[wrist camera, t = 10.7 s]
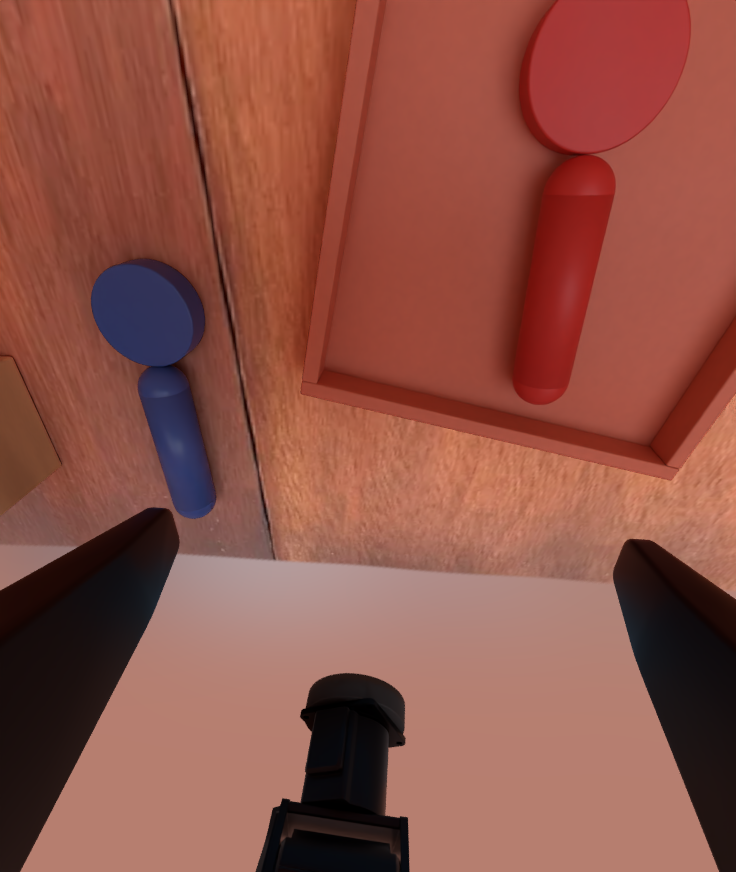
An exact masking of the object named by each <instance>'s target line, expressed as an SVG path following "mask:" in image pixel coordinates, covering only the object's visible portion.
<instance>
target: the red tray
mask: <svg viewBox="0 0 736 872" xmlns="http://www.w3.org/2000/svg"><path fill="white" fill-rule="evenodd" d="M555 1H556V0H357V1H356V7H355V14H354V21H353V28H352V35H351V42H350V49H349V56H348V63H347V70H346V77H345V84H344V91H343V98H342V105H341V112H340V119H339V126H338V133H337V140H336V147H335V154H334V161H333V168H332V175H331V182H330V188H329V195H328V202H327V209H326V216H325V223H324V230H323V237H322V244H321V251H320V258H319V265H318V272H317V279H316V286H315V293H314V300H313V307H312V314H311V321H310V328H309V335H308V342H307V349H306V356H305V363H304V369H303V376H302V384H301V391H300V393H301V394H303V395H307V396H312V397H316V398H320V399H324V400H329V401H333V402H337V403H342V404H346V405H350V406H354V407H359V408H363V409H367V410H371V411H376V412H380V413H384V414H389V415H393V416H397V417H401V418H406V419H410V420H414V421H419V422H423V423H427V424H431V425H436V426H440V427H444V428H448V429H453V430H457V431H461V432H466V433H470V434H474V435H478V436H483V437H487V438H491V439H496V440H500V441H504V442H508V443H513V444H517V445H521V446H525V447H530V448H534V449H538V450H543V451H547V452H551V453H555V454H560V455H564V456H568V457H572V458H577V459H581V460H585V461H590V462H594V463H598V464H602V465H607V466H611V467H615V468H620V469H624V470H628V471H632V472H637V473H641V474H645V475H649V476H654V477H658V478H662V479H667V480H672V479H673V478H674V476H675V475H676V474H677V472H678V471H679V469H678V468H681V467H682V466H683V464H684V463H685V461H686V460H687V459H688V457H689V456H690V455H691V453H692V452H693V451H694V449H695V448H696V447H697V445H698V444H699V442H700V441H701V440H702V438H703V437H704V436H705V434H706V433H707V432H708V430H709V429H710V428H711V426H712V425H713V423H714V422H715V421H716V419H717V418H718V417H719V415H720V414H721V413H722V411H723V410H724V409H725V407H726V406H727V404H728V403H729V402H730V400H731V399H732V398H733V396H734V395H735V394H736V0H687V2H688V6H689V10H690V18H691V37H690V46H689V51H688V55H687V60H686V63H685V66H684V69H683V72H682V75H681V77H680V79H679V82H678V84H677V86H676V88H675V90H674V92H673V94H672V95H671V97H670V99H669V100H668V102H667V103H666V105H665V106H664V108H663V109H662V110H661V112H660V113H659V114H658V115H657V116H656V118H655V119H654V120H653V121H652V122H651V123H650V124H649V125H648V126H647V127H646V128H645V129H644V130H643V131H641V132H640V133H639V134H638V135H637V136H635V137H634V138H632V139H631V140H629V141H628V142H626V143H624V144H622V145H620V146H618V147H616V148H614V149H611V150H608V151H605V152H601V153H596V154H588V155H594V156H598V157H600V158H602V159H603V160H605V161H606V162H607V163H608V164H609V165H610V166H611V168H612V170H613V172H614V175H615V179H616V189H615V195H614V200H613V204H612V208H611V212H610V216H609V220H608V224H607V228H606V233H605V237H604V241H603V245H602V249H601V253H600V257H599V262H598V266H597V270H596V274H595V278H594V282H593V286H592V291H591V295H590V299H589V303H588V307H587V311H586V315H585V320H584V324H583V328H582V332H581V336H580V340H579V344H578V348H577V353H576V357H575V361H574V365H573V369H572V373H571V377H570V382H569V385H568V388H567V389H566V391H565V392H564V394H563V395H562V396H561V397H560V398H559V399H557V400H556V401H554V402H552V403H549V404H545V405H534V404H530V403H528V402H526V401H524V400H523V399H521V398H520V397H519V396H518V394H517V393H516V392H515V390H514V387H513V382H512V375H513V369H514V363H515V357H516V351H517V345H518V339H519V333H520V327H521V321H522V315H523V309H524V303H525V297H526V291H527V285H528V279H529V273H530V267H531V261H532V255H533V249H534V243H535V237H536V231H537V225H538V219H539V213H540V207H541V201H542V195H543V191H544V187H545V185H546V183H547V180H548V179H549V177H550V176H551V174H552V173H553V172H554V170H555V169H556V168H557V167H558V166H560V165H561V164H562V163H563V162H565V161H567V160H568V159H570V158H573V157H575V156H572V155H564V154H559V153H557V152H554V151H552V150H550V149H548V148H547V147H545V146H543V145H542V144H541V143H540V142H539V141H538V140H537V139H536V138H535V137H534V136H533V134H532V133H531V131H530V130H529V128H528V126H527V124H526V122H525V119H524V117H523V113H522V110H521V105H520V98H519V80H520V71H521V66H522V61H523V58H524V54H525V51H526V48H527V46H528V43H529V41H530V38H531V36H532V34H533V32H534V30H535V28H536V27H537V25H538V24H539V22H540V20H541V19H542V17H543V16H544V15H545V13H546V12H547V11H548V10H549V8H550V7H551V6H552V5H553V3H554V2H555Z"/></svg>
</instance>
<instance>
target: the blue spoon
mask: <svg viewBox="0 0 736 872" xmlns="http://www.w3.org/2000/svg"><path fill="white" fill-rule="evenodd" d="M91 306H92V312H93V316H94V319H95V321H96V324H97V326H98V328H99V330H100V332H101V333H102V335H103V336H104V337H105V339H106V340H107V341H108V342H109V343H110V345H111V346H112V347H113V348H115V349H116V350H117V351H118V352H119V353H121V354H122V355H123V356H125V357H127V358H128V359H130V360H132V361H134V362H137V363H139V364H142V365H147V366H151V367H149V368H147V369H146V370H145V371H144V372H143V373H142V374H141V376H140V378H139V381H138V393H139V396H140V399H141V402H142V405H143V409H144V412H145V415H146V418H147V421H148V425H149V428H150V431H151V434H152V437H153V441H154V444H155V447H156V450H157V453H158V456H159V460H160V463H161V466H162V469H163V472H164V476H165V479H166V482H167V485H168V488H169V492H170V495H171V498H172V501H173V504H174V507H175V509H176V510H177V512H178V513H179V514H181V515H182V516H184V517H187V518H191V519H196V518H201V517H203V516H205V515H207V514H208V513H209V512H210V511H211V510H212V509H213V507H214V505H215V502H216V492H215V488H214V484H213V480H212V476H211V472H210V467H209V463H208V459H207V455H206V451H205V447H204V443H203V439H202V435H201V431H200V427H199V422H198V418H197V414H196V410H195V406H194V402H193V398H192V394H191V390H190V386H189V382H188V379H187V378H186V376H185V375H184V373H183V372H182V371H181V370H179V369H178V368H176V367H174V366H172V365H171V364H174V363H175V362H177V361H179V360H180V359H182V358H183V357H184V356H185V355H187V354H188V353H189V352H190V351H192V350H193V349H194V348H195V347H196V346H197V345H198V343H199V342H200V340H201V338H202V336H203V332H204V327H205V316H204V310H203V306H202V303H201V301H200V298H199V296H198V294H197V292H196V291H195V289H194V288H193V286H192V285H191V284H190V283H189V281H188V280H187V279H186V278H185V277H184V276H183V275H182V274H180V273H179V272H178V271H176V270H175V269H173V268H172V267H170V266H168V265H166V264H164V263H162V262H159V261H156V260H151V259H135V260H131V261H128V262H124V263H121V264H118V265H114V266H112V267H110V268H108V269H106V270H105V271H104V272H103V273H102V274H101V275H100V276H99V277H98V278H97V280H96V282H95V284H94V286H93V290H92V295H91Z"/></svg>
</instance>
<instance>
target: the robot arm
mask: <svg viewBox="0 0 736 872" xmlns="http://www.w3.org/2000/svg"><path fill="white" fill-rule="evenodd" d="M179 543H180V541H179V535H178V532H177V528H176V525H175V521H174V518H173V514H172V512H171V511H170V510H169V509H166V508H147V509H145V510H144V511H142V512H140V513H138V514H136V515H135V516H133V517H131V518H129V519H127V520H126V521H124V522H122V523H120V524H119V525H117V526H115V527H113V528H111V529H110V530H108V531H106V532H104V533H102V534H101V535H99V536H97V537H95V538H94V539H92V540H90V541H88V542H86V543H85V544H83V545H81V546H79V547H77V548H76V549H74V550H72V551H70V552H69V553H67V554H65V555H63V556H62V557H60V558H58V559H56V560H54V561H53V562H51V563H49V564H47V565H45V566H44V567H42V568H40V569H38V570H36V571H35V572H33V573H31V574H29V575H27V576H26V577H24V578H22V579H20V580H19V581H17V582H15V583H13V584H11V585H10V586H8V587H6V588H4V589H2V590H1V591H0V872H20V871H21V869H22V867H23V865H24V863H25V861H26V859H27V857H28V855H29V854H30V852H31V850H32V848H33V846H34V844H35V842H36V840H37V838H38V836H39V834H40V832H41V830H42V828H43V826H44V824H45V823H46V821H47V819H48V817H49V815H50V813H51V811H52V809H53V807H54V805H55V803H56V801H57V799H58V798H59V795H60V794H61V792H62V790H63V788H64V786H65V784H66V782H67V780H68V778H69V776H70V774H71V772H72V770H73V769H74V767H75V765H76V763H77V761H78V759H79V757H80V755H81V753H82V751H83V749H84V747H85V745H86V743H87V741H88V739H89V738H90V736H91V734H92V732H93V730H94V728H95V726H96V724H97V722H98V720H99V718H100V716H101V714H102V712H103V711H104V709H105V707H106V705H107V703H108V701H109V699H110V697H111V695H112V693H113V691H114V689H115V687H116V685H117V683H118V681H119V679H120V678H121V676H122V674H123V672H124V670H125V668H126V666H127V664H128V662H129V660H130V658H131V656H132V654H133V653H134V651H135V649H136V647H137V644H138V643H139V641H140V639H141V637H142V635H143V633H144V631H145V629H146V627H147V625H148V623H149V621H150V619H151V617H152V614H153V612H154V610H155V608H156V605H157V602H158V600H159V598H160V595H161V592H162V590H163V587H164V585H165V582H166V580H167V577H168V575H169V572H170V570H171V567H172V564H173V562H174V559H175V557H176V554H177V552H178V549H179ZM613 580H614V585H615V588H616V592H617V595H618V599H619V603H620V606H621V610H622V613H623V617H624V621H625V624H626V628H627V631H628V635H629V639H630V642H631V646H632V649H633V652H634V656H635V659H636V662H637V664H638V667H639V670H640V672H641V675H642V677H643V680H644V683H645V685H646V688H647V690H648V693H649V695H650V698H651V700H652V703H653V705H654V708H655V710H656V713H657V716H658V718H659V720H660V723H661V726H662V728H663V731H664V733H665V736H666V738H667V741H668V743H669V746H670V748H671V751H672V753H673V756H674V759H675V761H676V763H677V766H678V769H679V771H680V774H681V776H682V779H683V781H684V784H685V786H686V789H687V791H688V794H689V796H690V799H691V802H692V804H693V807H694V809H695V812H696V814H697V816H698V819H699V822H700V824H701V827H702V829H703V832H704V834H705V837H706V839H707V842H708V844H709V847H710V849H711V852H712V855H713V857H714V860H715V862H716V865H717V867H718V870H719V872H736V599H735V598H733V597H732V596H730V595H729V594H727V593H726V592H725V591H723V590H722V589H720V588H719V587H717V586H716V585H715V584H713V583H712V582H710V581H709V580H708V579H706V578H705V577H703V576H702V575H700V574H699V573H698V572H696V571H695V570H693V569H692V568H690V567H689V566H688V565H686V564H685V563H683V562H682V561H680V560H679V559H678V558H676V557H675V556H673V555H672V554H670V553H669V552H668V551H666V550H665V549H663V548H662V547H661V546H659V545H658V544H656V543H655V542H653V541H650V540H641V539H629V540H627V541H626V542H625V543H624V545H623V547H622V550H621V552H620V555H619V557H618V560H617V562H616V565H615V567H614V571H613ZM300 718H301V719H302V720H303V721H304V722H305V723H306V724H307V725H308V726H309V727H310V728H311V729H312V735H311V740H310V746H309V751H308V757H307V763H306V767H305V772H306V775H305V782H304V786H303V793H302V797H301V803H299V802H292V801H290V800H289V799H282V802H281V805H280V806H278V807H275V808H273V810H272V815H271V819H270V823H269V828H268V832H267V836H266V840H265V843H264V847H263V850H262V853H261V856H260V859H259V863H258V866H257V869H256V872H409V841H408V818H407V817H401V816H400V818H397V817H390V816H385V809H386V787H387V767H388V748H391V747H399V746H404V745H405V739H406V738H405V736H404V735H403V734H402V732H401V731H400V730H399V729H398V727H397V726H396V725H395V724H394V723H393V721H392V720H391V719H390V718H389V716H388V715H387V714H386V713H385V711H384V710H383V709H382V708H381V706H380V705H379V704H378V703H377V702H376V700H375V699H373V698H363V699H357V700H351V701H345V702H340V703H334V704H328V705H322V706H316V707H311V708H305V709H302V710H301V714H300Z"/></svg>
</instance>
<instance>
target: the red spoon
mask: <svg viewBox="0 0 736 872" xmlns="http://www.w3.org/2000/svg"><path fill="white" fill-rule="evenodd" d="M690 37H691V18H690V10H689V6H688V2H687V0H556V1H555V2H554V3H553V5H552V6H551V7H550V8H549V10H548V11H547V12H546V13H545V15H544V16H543V17H542V19H541V20H540V22H539V24H538V25H537V27H536V28H535V30H534V32H533V34H532V36H531V38H530V41H529V43H528V46H527V48H526V51H525V54H524V58H523V61H522V66H521V71H520V80H519V98H520V105H521V110H522V113H523V117H524V119H525V122H526V124H527V126H528V128H529V130H530V131H531V133H532V134H533V136H534V137H535V138H536V139H537V140H538V141H539V142H540V143H541V144H542V145H543V146H545V147H547V148H548V149H550V150H552V151H554V152H557V153H559V154H564V155H572V156H575V157H573V158H570V159H568V160H567V161H565V162H563V163H562V164H561V165H560V166H558V167H557V168H556V169H555V170H554V172H553V173H552V174H551V176H550V177H549V179H548V180H547V183H546V185H545V187H544V191H543V195H542V201H541V207H540V213H539V219H538V225H537V231H536V237H535V243H534V249H533V255H532V261H531V267H530V273H529V279H528V285H527V291H526V297H525V303H524V309H523V315H522V321H521V327H520V333H519V339H518V345H517V351H516V357H515V363H514V369H513V375H512V382H513V387H514V390H515V392H516V393H517V394H518V396H519V397H520V398H521V399H523V400H524V401H526V402H528V403H530V404H534V405H545V404H549V403H552V402H554V401H556V400H557V399H559V398H560V397H561V396H562V395H563V394H564V392H565V391H566V389H567V388H568V385H569V382H570V377H571V373H572V369H573V365H574V361H575V357H576V353H577V348H578V344H579V340H580V336H581V332H582V328H583V324H584V320H585V315H586V311H587V307H588V303H589V299H590V295H591V291H592V286H593V282H594V278H595V274H596V270H597V266H598V262H599V257H600V253H601V249H602V245H603V241H604V237H605V233H606V228H607V224H608V220H609V216H610V212H611V208H612V204H613V200H614V195H615V189H616V179H615V175H614V172H613V170H612V168H611V166H610V165H609V164H608V163H607V162H606V161H605V160H603V159H602V158H600V157H598V156H594V155H588V154H596V153H601V152H605V151H608V150H611V149H614V148H616V147H618V146H620V145H622V144H624V143H626V142H628V141H629V140H631V139H632V138H634V137H635V136H637V135H638V134H639V133H640V132H641V131H643V130H644V129H645V128H646V127H647V126H648V125H649V124H650V123H651V122H652V121H653V120H654V119H655V118H656V116H657V115H658V114H659V113H660V112H661V110H662V109H663V108H664V106H665V105H666V103H667V102H668V100H669V99H670V97H671V95H672V94H673V92H674V90H675V88H676V86H677V84H678V82H679V79H680V77H681V75H682V72H683V69H684V66H685V63H686V60H687V55H688V51H689V46H690Z"/></svg>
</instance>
